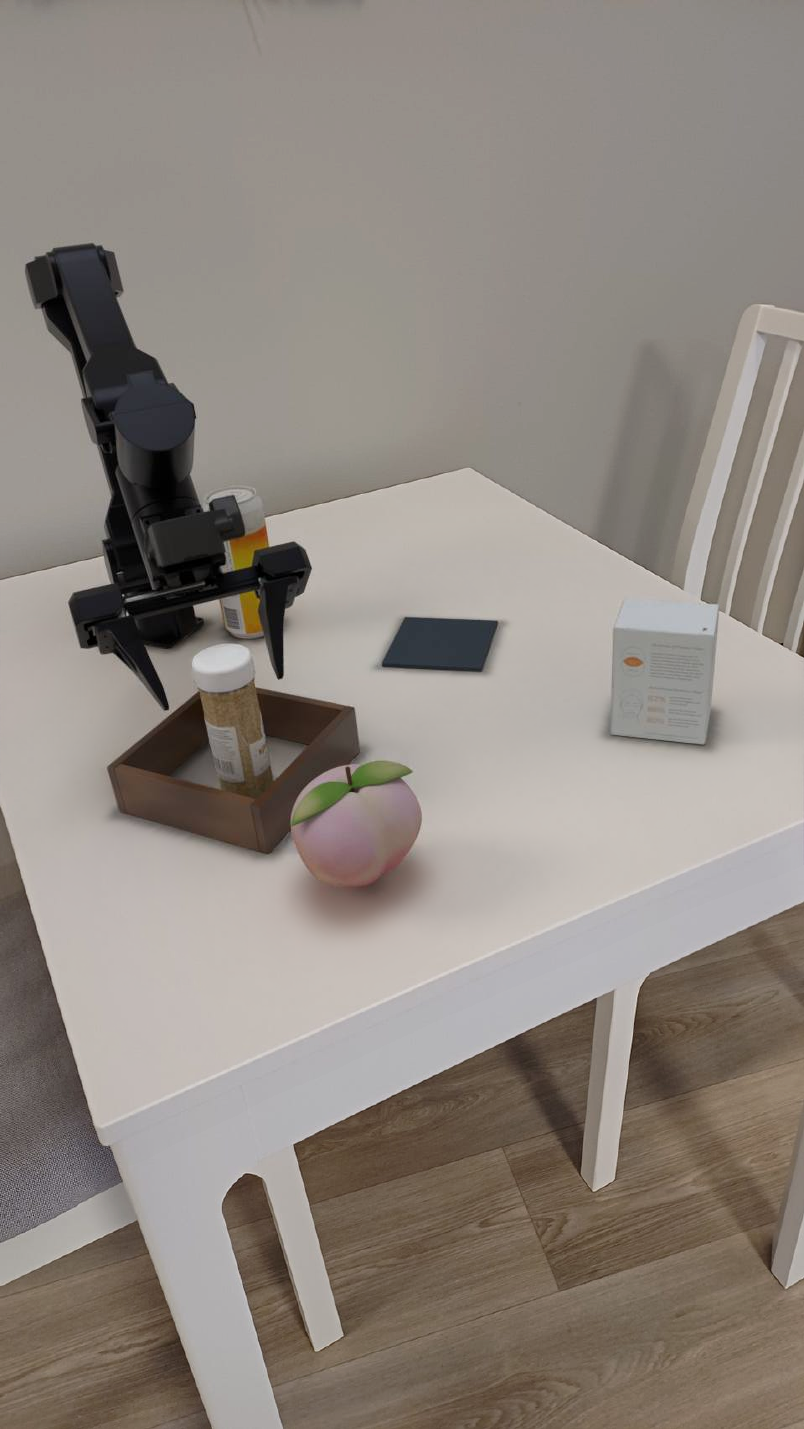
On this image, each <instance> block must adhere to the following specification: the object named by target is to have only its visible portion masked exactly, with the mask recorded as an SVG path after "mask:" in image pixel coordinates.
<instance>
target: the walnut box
mask: <svg viewBox="0 0 804 1429" xmlns="http://www.w3.org/2000/svg"><path fill="white" fill-rule="evenodd" d="M255 688H256V693H257V699H258V703H259V709H260V712H261V716H262V722H263V727H264V732H265V736H268V737H271V738H272V737H273V738H278V739H281V740H286V741H290V742H294V743H298V744H299V743H300V744H304V745H307V747H305V749H304V750H302V751H301V753H300V754H299V755H298V756H297V757H296V758H295V759H294V760H293V761H292V762H291V763H289V765H288V766H287V767H286V768H285V769H284V770H283V771H282V773H280V774H279V776H278V777H276V778H275V780H273V783H272V784H271V785H270V786H269V787H268V788H267V789H266V790H265V791H264V792H263V793H262V794H261V795H260V796H259V797H258V798H257V799H254V798H250V797H246V796H243V795H239V794H235V793H231V792H227V791H223V790H221V789H220V788H215V787H212V786H208V785H203V784H200V783H196V782H192V781H189V780H185V779H181V778H176V777H174V776H170V775H171V774H172V773H174V772H175V771H176V770H177V769H178V768H179V767H180V766H181V765H182V764H184V763H185V761H187V760H188V759H189V758H191V756H192V755H193V754H195V753H196V752H197V751H198V750H199V749H200V748H201V747H203V746H204V745H205V744H206V743H207V742H209V737H208V732H207V728H206V723H205V719H204V711H203V705H202V701H201V696H200V691H199V690H198V691H197V692H196V693H194V694H193V695H192V696H191V697H190V698H188V699H187V700H186V701H185V702H183V703H182V704H181V705H180V706H179V707H178V708H176V709H175V710H174V711H173V712H172V713H170V714H169V715H168V716H166V718H164V719H162V721H161V722H160V723H158V724H157V725H156V726H155V727H153V728H152V729H151V730H150V731H148V732H147V733H146V734H145V735H144V736H143V737H141V738H140V739H139V740H137V741H136V742H135V743H134V744H133V745H132V746H130V747H129V748H127V750H125V751H124V752H123V753H122V754H121V755H120V756H118V757H117V758H116V759H114V760H113V761H112V762H111V763H109V764H108V765H107V766H106V769H107V774H108V777H109V780H110V784H111V787H112V790H113V793H114V797H115V801H116V805H117V807H118V811H119V812H121V813H124V814H127V815H130V816H134V817H138V818H141V819H143V820H144V819H145V820H148V821H151V822H155V823H157V824H162V825H166V826H169V827H173V828H176V829H180V830H183V831H186V832H191V833H193V834H196V835H200V836H204V837H207V838H211V839H214V840H217V841H221V842H225V843H229V844H232V845H236V846H238V847H243V848H246V849H250V850H253V851H257V852H261V853H264V854H268V855H269V854H270V853H271V852H272V851H273V849H274V848H275V847H276V846H277V845H278V844H279V843H280V842H281V841H282V840H283V838H285V836H286V835H287V834H288V833H289V832H290V831H291V814H292V810H293V807H294V804H295V802H296V800H297V798H298V796H299V795H300V793H301V792H302V790H303V789H304V788H305V787H306V786H307V785H308V784H309V783H310V782H311V781H313V780H314V779H315V778H316V777H318V776H320V775H321V774H323V773H324V772H326V771H329V770H331V769H333V768H336V767H339V766H344V765H350V763H351V762H352V760H353V759H355V757H356V756H357V755H358V754H359V753H360V752H361V746H360V740H359V730H358V721H357V714H356V707H355V706H350V705H345V704H341V703H336V702H331V701H325V700H321V699H317V698H312V697H306V696H301V695H297V694H291V693H287V692H281V691H278V690H277V691H276V690H272V689H267V688H261V687H257V686H255Z"/></svg>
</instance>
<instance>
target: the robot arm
mask: <svg viewBox="0 0 804 1429" xmlns="http://www.w3.org/2000/svg"><path fill="white" fill-rule="evenodd" d="M24 274H25V279H26V283H27V288H28V292H29V296H30V299H31V302H32V305H33V308H34V310H41V312H42V316H43V319H44V322H45V326H46V329H47V331H48V333H49V334H51V336H52V337H54V338H55V339H56V341H58V342H59V343H60V344H61V345H62V347H64V348H65V350H67V351H68V352H69V354H70V356H71V359H72V363H73V366H74V370H75V374H76V376H77V380H78V384H79V387H80V391H81V394H82V398H80V404H81V409H82V413H83V417H84V421H85V425H86V428H87V431H88V436H89V438H90V440H91V442H92V444H95V445H96V447H97V451H98V455H99V459H100V461H101V465H102V469H103V472H104V476H105V479H106V483H107V487H108V490H109V494H110V500H109V504H108V509H107V512H106V514H105V519H104V523H103V529H104V532H105V536H106V538H104V539H101V546H102V553H103V560H104V565H105V568H106V571H107V576H108V580H109V582H110V583H109V584H104V585H101V586H95V587H91V588H87V589H83V590H79V591H75V592H72V594H71V596H70V598H69V599H68V602H67V604H68V608H69V611H70V616H71V621H72V623H73V628H74V631H75V634H76V637H77V638H76V639H77V641H78V644H79V647H80V649H83V650H84V649H85V650H89V649H93V648H94V649H95V648H98V651H99V654H100V655H109V654H110V655H111V654H113V655H115V656H116V657H117V658H118V659H119V660H120V661H121V662H122V663H123V664H124V665H125V666H126V667H127V668H128V669H129V670H130V671H131V672H132V673H133V674H134V675H135V676H136V678H137V679H138V680H139V681H140V683H142V685H143V686H144V687H145V688H146V690H147V691H148V692H149V693H150V695H151V696H152V697H153V699H154V700H155V701H156V702H157V704H158V705H159V706H160V708H161V709H162V710H163V711H164V712H167V711H169V710H170V704H169V700H168V698H167V697H168V696H167V694H166V691H165V688H164V685H163V683H162V681H161V678H160V677H159V674H158V672H157V670H156V667H155V666H154V663H153V660H152V659H151V657H150V654H149V652H148V650H147V648H146V645H148V646H152V647H158V648H162V649H163V648H164V649H171V648H173V647H174V646H175V645H177V644H178V643H180V642H181V641H182V640H185V638H186V637H187V636H189V635H191V634H192V633H193V632H194V631H196V630H197V629H199V628H200V627H201V626H202V625H204V624H205V618H203V617H200V616H196V613H195V607H194V606H197V605H201V604H206V603H209V602H210V603H211V602H213V601H217V600H218V601H219V599H222V598H226V597H230V596H234V595H238V594H242V593H246V592H251V591H254V592H255V595H256V598H258V599H260V602H259V606H258V615H259V619H260V622H261V626H262V630H263V634H264V636H263V637H264V641H265V645H266V649H267V653H268V658H269V661H270V664H271V666H272V669H273V672H274V674H275V676H276V678H277V680H283V678H284V676H285V675H284V674H285V663H284V662H285V659H284V658H285V657H284V656H285V655H284V654H285V651H284V650H285V649H284V621H285V615H286V614H285V612H286V610H287V609H290V608H291V607H293V605H294V602H295V600H296V598H297V597H299V596H301V595H302V594H304V593H305V591H306V587H307V585H308V581H309V579H310V576H311V572H312V570H313V567H312V564H311V562H310V559H309V556H308V553H307V550H306V549H305V548H304V547H303V546H302V545H300V544H299V543H298V542H296V540H295V541H289V542H285V543H280V544H276V545H271V546H269V547H267V548H263V549H259V550H255V551H254V556H253V561H252V566H251V567H247V568H243V569H239V570H234V571H230V572H226V573H223V570H222V567H221V566H224V565H225V564H226V557H225V554H224V553H225V552H226V549H225V546H224V542H226V541H230V540H234V539H239V538H241V537H243V536H244V535H245V526H244V522H243V519H242V515H241V512H240V509H239V506H238V504H237V501H236V498H235V496H234V495H230V496H226V497H221V498H216V499H213V500H212V501H211V502H210V503H209V509H210V511H207V512H204V511H203V509H202V507H203V506H202V504H201V502H200V500H199V496H198V493H197V491H196V490H197V489H196V488H195V484H194V482H193V479H192V475H191V473H192V471H193V466H194V458H195V457H194V454H195V434H196V419H197V414H196V408H195V404H194V403H193V402H192V401H191V400H190V399H188V398H187V397H186V396H185V395H184V394H183V393H182V392H181V391H180V390H179V388H178V387H177V386H176V384H175V383H174V382H168V380H167V377H166V376H165V373H164V371H163V369H162V367H161V365H160V363H159V360H158V359H157V358H156V357H154V356H152V355H151V354H148V353H147V352H145V351H143V350H141V349H139V348H138V347H137V345H136V343H135V341H134V338H133V336H132V333H131V331H130V329H129V326H128V323H127V321H126V318H125V316H124V313H123V311H122V308H121V305H120V304H119V300H118V298H121V296H122V295H123V294H124V293H125V291H124V287H123V282H122V278H121V274H120V270H119V266H118V263H117V258H116V254H115V252H114V251H110V250H107V249H104V247H103V245H102V244H101V245H100V244H99V245H98V244H97V245H96V244H95V243H93V242H89V243H88V242H87V243H81V244H73V245H66V246H58V247H52V249H51V251H46V252H45V254H43V255H35V256H34V258H33V260H32V261H29V262H27V263H25V265H24Z"/></svg>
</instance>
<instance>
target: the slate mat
mask: <svg viewBox="0 0 804 1429" xmlns="http://www.w3.org/2000/svg"><path fill="white" fill-rule="evenodd" d="M498 622H499V620H494V619H493V620H492V619H470V618H469V619H466V618H443V617H441V618H440V617H419V616H418V617H416V616H414V617H413V616H404V618H403V619H402V622H401V624H400V625H399V627H398V629H397V631H396V634H395V636H394V638H393V640H392V642H391V643H390V646H389V648H388V650H387V652H386V654H385V656H384V657H383V660H382V662H381V667H384V668H385V667H387V668H402V669H403V668H405V669H406V668H408V669H424V670H425V669H427V670H442V671H443V670H445V671H462V672H463V671H464V672H479V673H480V672H483V669H484V666H485V664H486V660H487V657H488V654H489V651H490V648H491V645H492V642H493V640H494V637H495V633H496V630H497V627H498V624H499V623H498Z"/></svg>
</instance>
